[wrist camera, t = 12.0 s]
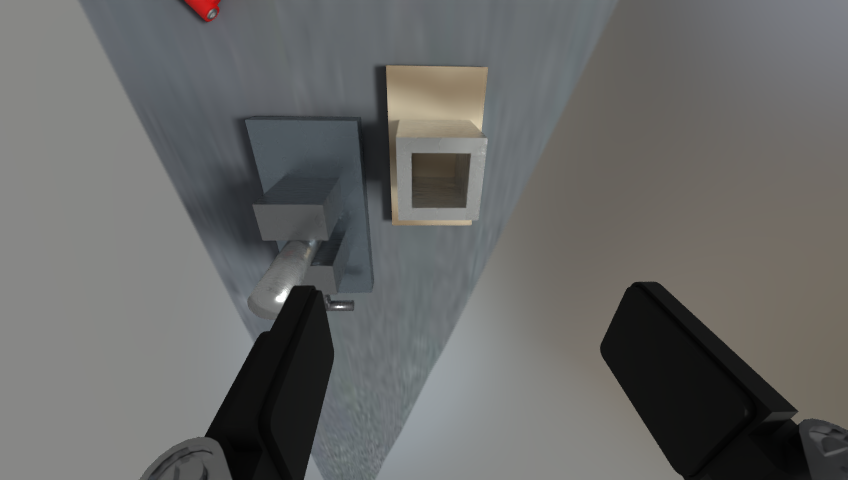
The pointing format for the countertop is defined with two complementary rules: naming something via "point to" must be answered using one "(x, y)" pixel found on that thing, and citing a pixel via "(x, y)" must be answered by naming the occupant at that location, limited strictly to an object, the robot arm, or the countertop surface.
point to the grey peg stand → (311, 208)
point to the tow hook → (205, 8)
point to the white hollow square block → (440, 193)
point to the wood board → (431, 116)
